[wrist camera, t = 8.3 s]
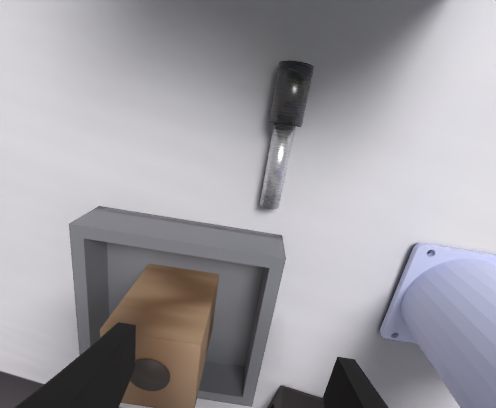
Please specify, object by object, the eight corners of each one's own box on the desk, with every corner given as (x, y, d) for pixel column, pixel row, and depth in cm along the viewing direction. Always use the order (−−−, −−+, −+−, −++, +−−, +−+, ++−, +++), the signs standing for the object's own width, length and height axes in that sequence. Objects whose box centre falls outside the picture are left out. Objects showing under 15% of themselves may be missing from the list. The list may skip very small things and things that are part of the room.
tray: (281, 235, 18) (285, 258, 15) (252, 368, 22) (251, 406, 19) (99, 206, 18) (68, 223, 15) (104, 345, 22) (81, 379, 19)
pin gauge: (278, 64, 15) (280, 58, 13) (310, 70, 15) (316, 64, 13) (255, 200, 17) (254, 209, 16) (282, 204, 17) (284, 214, 16)
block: (219, 274, 19) (200, 346, 13) (212, 329, 20) (192, 415, 14) (149, 263, 19) (98, 331, 13) (147, 319, 20) (102, 401, 14)
